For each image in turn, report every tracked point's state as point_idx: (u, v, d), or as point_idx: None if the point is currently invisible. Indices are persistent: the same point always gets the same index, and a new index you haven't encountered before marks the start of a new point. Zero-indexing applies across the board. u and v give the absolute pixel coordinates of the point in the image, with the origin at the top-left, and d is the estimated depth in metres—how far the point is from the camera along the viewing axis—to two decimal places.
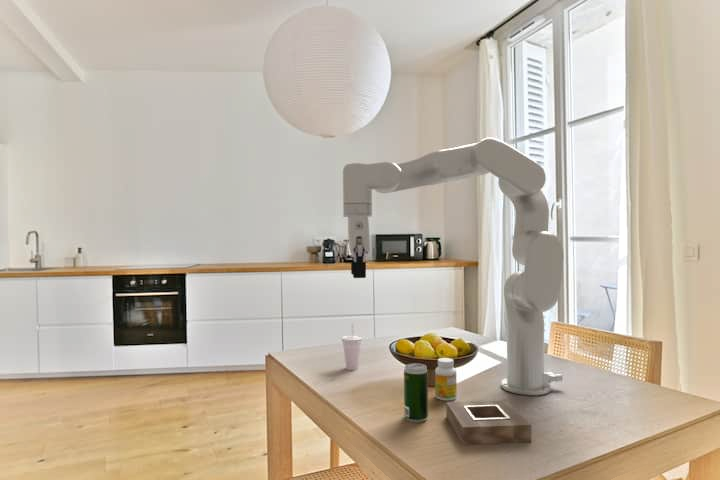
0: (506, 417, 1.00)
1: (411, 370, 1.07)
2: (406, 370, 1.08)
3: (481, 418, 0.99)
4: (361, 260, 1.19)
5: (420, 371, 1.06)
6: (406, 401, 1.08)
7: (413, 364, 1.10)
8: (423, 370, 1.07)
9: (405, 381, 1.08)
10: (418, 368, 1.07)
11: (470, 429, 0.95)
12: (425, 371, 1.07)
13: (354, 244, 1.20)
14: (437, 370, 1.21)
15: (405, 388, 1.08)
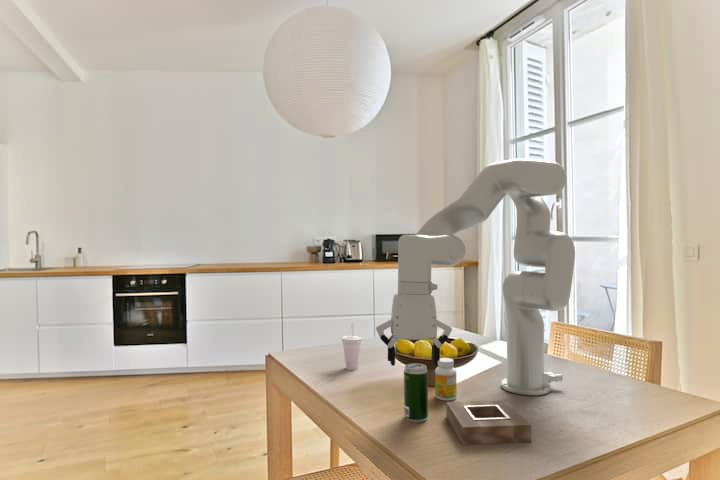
0: (506, 417, 1.00)
1: (411, 370, 1.07)
2: (406, 370, 1.08)
3: (481, 418, 0.99)
4: None
5: (420, 371, 1.06)
6: (406, 401, 1.08)
7: (413, 364, 1.10)
8: (423, 370, 1.07)
9: (405, 381, 1.08)
10: (418, 368, 1.07)
11: (470, 429, 0.95)
12: (425, 371, 1.07)
13: None
14: (437, 370, 1.21)
15: (405, 388, 1.08)
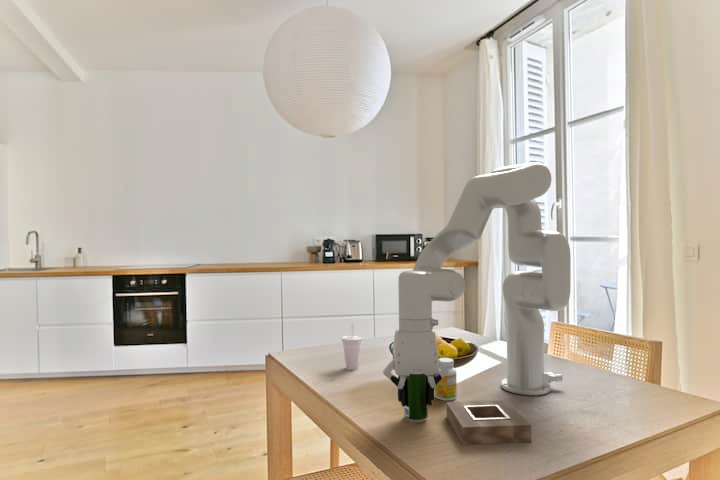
0: (506, 417, 1.00)
1: None
2: None
3: (481, 418, 0.99)
4: None
5: (420, 371, 1.06)
6: (406, 401, 1.08)
7: None
8: None
9: (405, 381, 1.08)
10: None
11: (470, 429, 0.95)
12: None
13: (438, 363, 1.08)
14: None
15: (405, 388, 1.08)
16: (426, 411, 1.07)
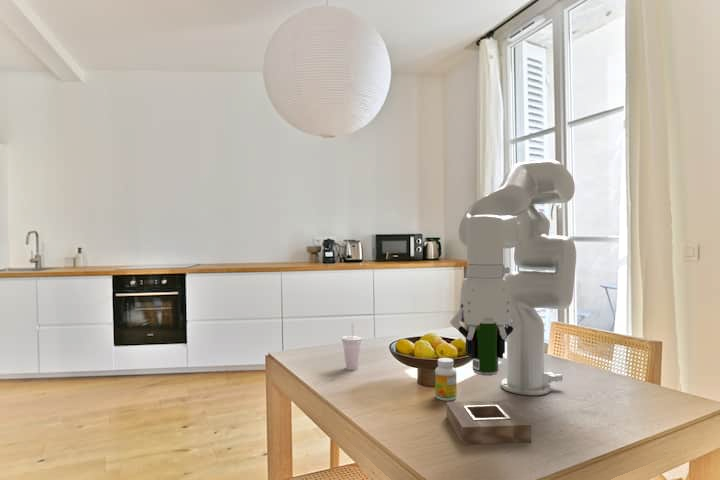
0: (506, 417, 1.00)
1: None
2: None
3: (481, 418, 0.99)
4: None
5: (491, 320, 1.00)
6: (476, 353, 1.01)
7: None
8: None
9: (474, 332, 1.01)
10: (489, 318, 1.00)
11: (470, 429, 0.95)
12: None
13: None
14: (437, 370, 1.21)
15: (474, 339, 1.01)
16: (497, 364, 1.01)
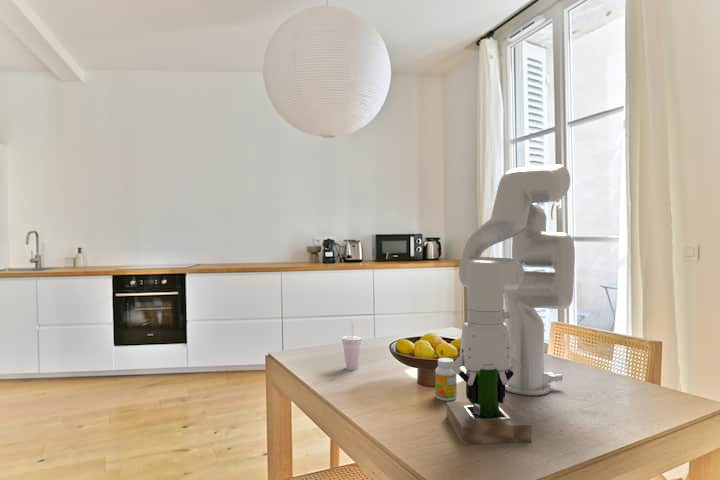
0: (506, 417, 1.00)
1: None
2: None
3: (481, 418, 0.99)
4: None
5: (492, 366, 1.00)
6: (476, 398, 1.01)
7: None
8: None
9: (475, 377, 1.01)
10: None
11: (470, 429, 0.95)
12: None
13: None
14: (437, 370, 1.21)
15: (475, 384, 1.02)
16: (497, 409, 1.01)
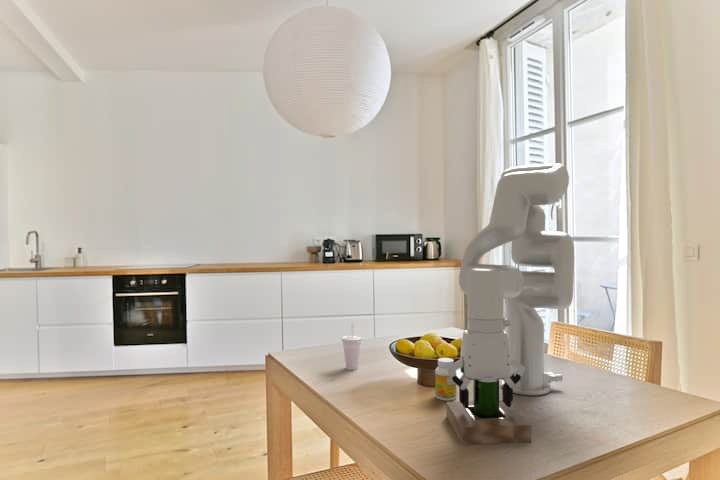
0: (506, 417, 1.00)
1: None
2: None
3: (481, 418, 0.99)
4: None
5: (492, 379, 1.00)
6: (477, 410, 1.02)
7: None
8: None
9: (475, 389, 1.02)
10: None
11: (470, 429, 0.95)
12: (497, 379, 1.01)
13: None
14: (437, 370, 1.21)
15: (475, 397, 1.02)
16: None
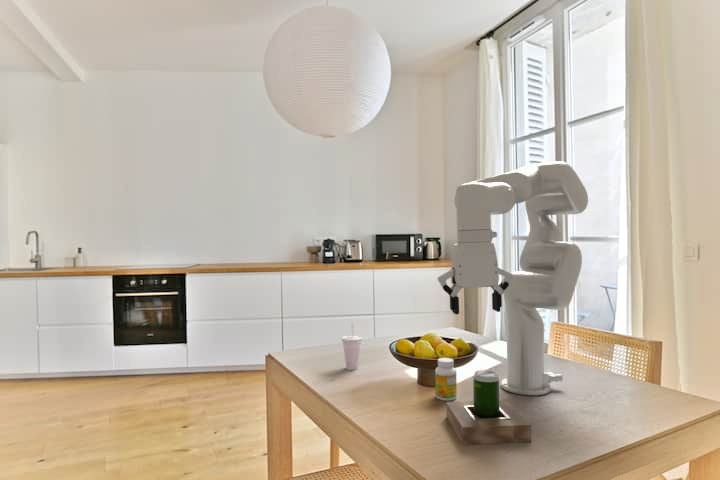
0: (506, 417, 1.00)
1: (483, 378, 1.01)
2: (477, 378, 1.02)
3: (481, 418, 0.99)
4: None
5: (492, 379, 1.00)
6: (477, 410, 1.02)
7: (482, 371, 1.04)
8: (495, 378, 1.01)
9: (475, 389, 1.02)
10: (490, 376, 1.01)
11: (470, 429, 0.95)
12: (497, 379, 1.01)
13: None
14: (437, 370, 1.21)
15: (475, 397, 1.02)
16: None
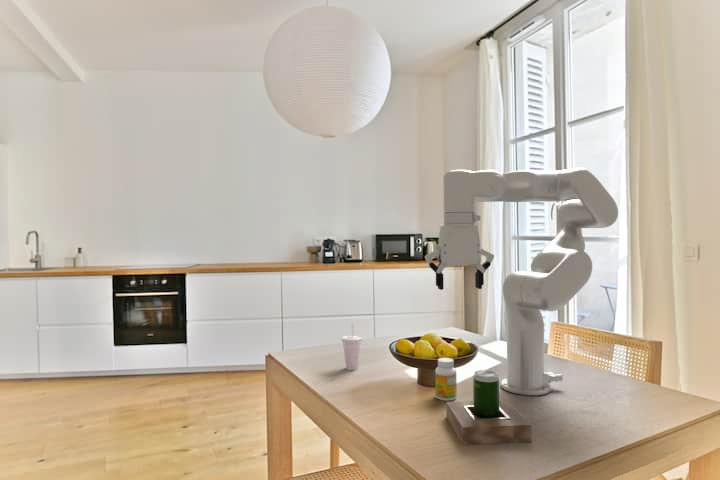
0: (506, 417, 1.00)
1: (482, 378, 1.01)
2: (476, 378, 1.02)
3: (481, 418, 0.99)
4: None
5: (492, 379, 1.00)
6: (477, 410, 1.02)
7: (482, 371, 1.04)
8: (495, 378, 1.01)
9: (475, 389, 1.02)
10: (490, 376, 1.01)
11: (470, 429, 0.95)
12: (497, 379, 1.01)
13: None
14: (437, 370, 1.21)
15: (475, 397, 1.02)
16: None
